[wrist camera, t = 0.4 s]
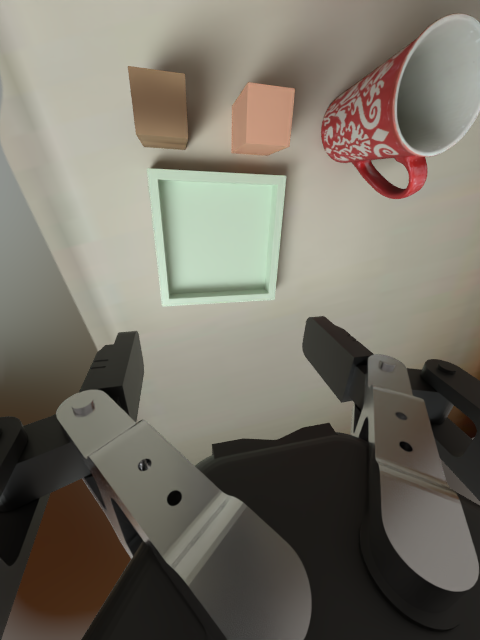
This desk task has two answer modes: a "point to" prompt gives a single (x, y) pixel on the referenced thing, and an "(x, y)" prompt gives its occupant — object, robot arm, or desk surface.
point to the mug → (410, 105)
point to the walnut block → (159, 107)
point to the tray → (216, 235)
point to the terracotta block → (262, 119)
